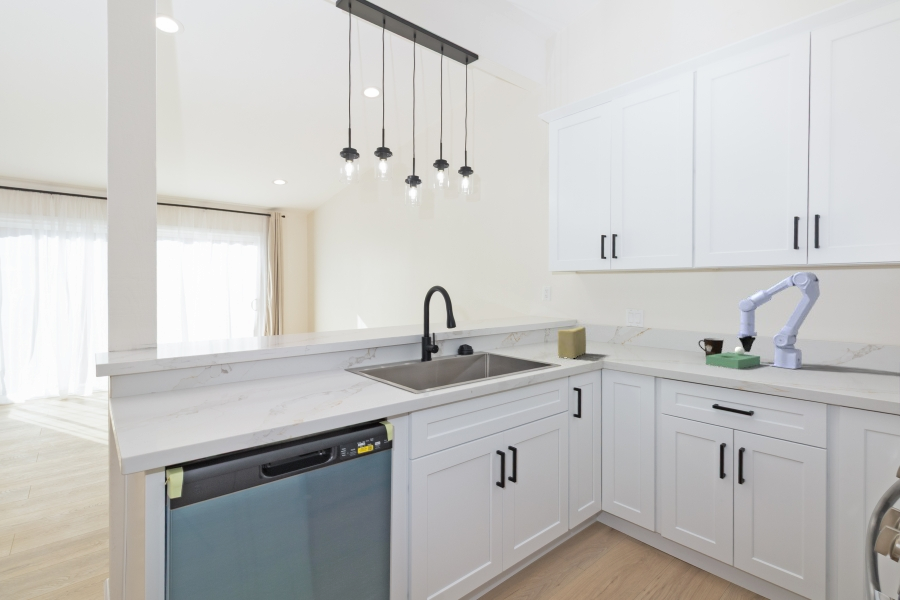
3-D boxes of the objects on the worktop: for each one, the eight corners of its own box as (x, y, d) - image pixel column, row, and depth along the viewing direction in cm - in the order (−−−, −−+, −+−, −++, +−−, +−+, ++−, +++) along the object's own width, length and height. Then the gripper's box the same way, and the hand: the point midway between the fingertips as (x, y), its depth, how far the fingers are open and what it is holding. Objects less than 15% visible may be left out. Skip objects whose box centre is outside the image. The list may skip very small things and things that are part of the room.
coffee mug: (727, 359, 213) (727, 340, 212) (709, 359, 213) (710, 340, 212) (713, 356, 224) (713, 337, 224) (696, 356, 224) (697, 337, 224)
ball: (746, 355, 203) (746, 346, 203) (741, 355, 201) (742, 347, 200) (737, 354, 206) (737, 345, 206) (732, 354, 204) (732, 346, 204)
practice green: (728, 360, 212) (728, 352, 211) (759, 364, 199) (760, 356, 199) (705, 364, 201) (706, 355, 201) (737, 369, 189) (738, 360, 189)
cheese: (576, 352, 239) (576, 326, 238) (592, 354, 232) (593, 327, 232) (557, 357, 223) (557, 329, 222) (574, 359, 216) (574, 330, 216)
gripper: (745, 322, 213) (745, 349, 214) (730, 324, 206) (730, 351, 207) (761, 323, 207) (761, 351, 208) (746, 325, 200) (746, 353, 201)
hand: (746, 351), depth 207 cm, fingers closed
